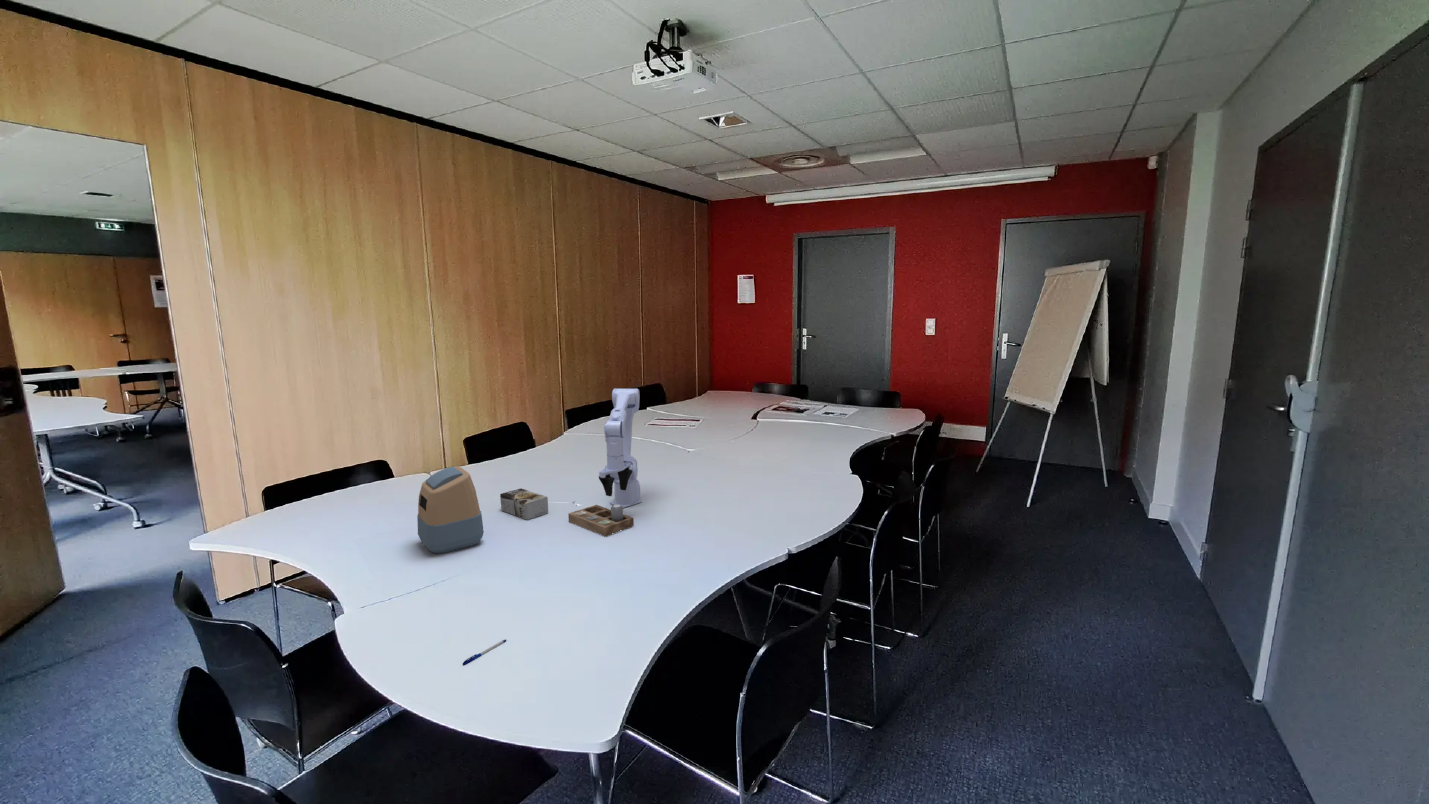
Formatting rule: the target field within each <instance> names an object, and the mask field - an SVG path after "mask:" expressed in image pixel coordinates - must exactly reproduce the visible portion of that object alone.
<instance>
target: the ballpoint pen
mask: <svg viewBox="0 0 1429 804" xmlns="http://www.w3.org/2000/svg"><path fill="white" fill-rule="evenodd" d="M506 642H507V639H502V640H500V641H499V642H497V643H495V644H494V645H492V646H490V647H489V648H487V649H485V650H482V651H481V652H479V653H478V654H477V653H475V654H474V655H471V656H469V657H468V658H466V659H465V660H464V661H463V662H462V666H466V665H468V664H469V663H471V662H473V661H475V660H477V659H478V658H480V657H482V656H484V655H485V654H486V653H488V652H490V651H492V650H494V649H495V648H497V647H499V646H501V645H502V644H505V643H506Z"/></svg>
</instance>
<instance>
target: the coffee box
mask: <svg viewBox="0 0 1429 804" xmlns="http://www.w3.org/2000/svg"><path fill="white" fill-rule="evenodd" d="M499 500H500V509H501V511H503V512H504V513H508V514H510V515H514V516H516V517H518V518H521V519H523V520H526V521H528V520H532V519H535V518H537V517H540V516H544V515H546V514H548V513H549V500H548V496H547V495H545V494H544V495H543V494H541V493H538V492H533V491H531V490H527V489H524V488H518V489H513V490H509V491H506V492H503V493H500V499H499Z"/></svg>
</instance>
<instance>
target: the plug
mask: <svg viewBox="0 0 1429 804" xmlns="http://www.w3.org/2000/svg"><path fill="white" fill-rule="evenodd" d="M610 510H611V521H614V522H619V521H622V520H623V514H624V508H623V506H621V505H619V504H615V505H611V507H610Z"/></svg>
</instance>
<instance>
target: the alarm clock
mask: <svg viewBox="0 0 1429 804" xmlns="http://www.w3.org/2000/svg"><path fill="white" fill-rule="evenodd" d="M479 504H480V503H479V499H478V495H477V491H476V487H475V485H474V482H473V480H472V477H471V474H470V473H469V472H468V471H467V470H465V469H463V468H462V467H461V466H458V465H455V466H450V467H446V468H443V469H442V470H439V471H437V472H434V473H433V474H432V475H431V476H429V477H428V478H427V479H425V480H424V481H423V482H422V483H421V487H420V490H419V495H418V505H417V509H418V510H417V515H416V517H417V535H418V538H419V540H420V542H422V544H423V545H424V546H425V547H426V548H427V550H428V551H430V553H434V554H444V553H445V552H446V553H450V552H453V551H457V549H458V550H460V549H461V548H462V549H465V548H469V546H470V547H473V546H474V545H476V544H477V543H479V542H480V541H481V540H482V539H483V536H484V532H485V531H484V525H483V517H482V516H483V514H482V511H481V508H480V505H479ZM462 549H461V550H462ZM449 551H450V552H449Z"/></svg>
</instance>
